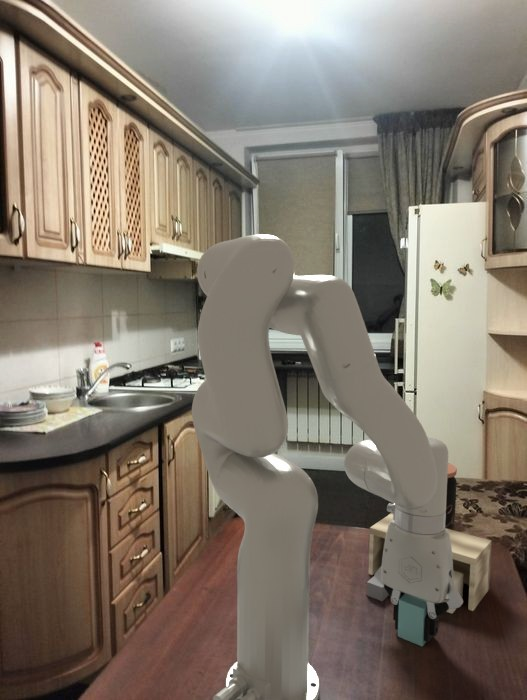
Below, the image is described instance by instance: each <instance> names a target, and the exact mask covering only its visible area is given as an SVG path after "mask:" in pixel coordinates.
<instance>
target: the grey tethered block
mask: <svg viewBox="0 0 527 700" xmlns="http://www.w3.org/2000/svg"><path fill="white" fill-rule="evenodd" d="M366 596H367V597H370V598H373V599H374V600H378V601H380V602H383V601H384V600H386V598H387V597H389V594H388V593H387V591H386V590H385V588H384V585H382V584H381V583H380V582H379V581H378V580H377V579H376V578H375V575H374V576H372V577H371V578H370V579H369V580H368V581H366Z"/></svg>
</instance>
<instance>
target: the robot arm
mask: <svg viewBox="0 0 527 700" xmlns="http://www.w3.org/2000/svg"><path fill="white" fill-rule="evenodd" d="M295 272H296V262H295V257H294V254H293V251H292V250H291V247H290V246H289V244H287V242H286V241H284V240H283V239H282V238H279V237H278V236H275V235H272V234H262V233H261V234H260V233H258V234H252V235H245V236H241V237H238V238H234V239H230V240H229V239H228V240H225V241H224V240H223V241H221V242H217V243H216V244H214V245H211V246H210V247H209V248H208V249H206V250H205V251H204V252H203V254H202V255H201V257H200V258H199V261H198V264H197V269H196V275H197V281H198V284H199V287H200V288H201V291H202V292H203V293H204V294H205V296H206V299H205V302H204V304H203V307H202V310H201V312H200V315H199V316H200V317H199V322H198V327H197V344H198V351H199V355H200V361H201V364H202V368H203V373H204V376H205V377H204V378H205V380H204V381H203V382H202V383H201V384H200V385H199V386H198V388H197V390H196V391H195V394H194V396H193V401H192V404H191V405H192V406H191V419H192V424H193V428H194V431H195V435H196V438H197V441H198V444H199V448H200V451H201V454H202V457H203V460H204V464H205V468H206V470H207V473H208V476H209V479H210V482H211V484H212V488H213V490H214V491H215V493H216V495H217V496H218V497H219V499H220V500H221V501H222V502H223V503H224V504H225V505H226V506H228V507H229V508H230V509H231V510H232V511H233V512H235V514H237V515H238V516H239V517H240V518H241V519H242V520H243V523H244V533H243V537H242V540H241V542H240V544H239V549H238V554H237V563H236V564H237V565H236V566H237V569H236V574H237V576H236V581H237V585H236V586H237V588H236V589H237V596H236V597H237V608H236V609H237V610H236V611H237V613H236V614H237V618H236V619H237V621H236V622H237V623H236V627H237V630H236V631H237V634H236V636H237V637H236V642H237V643H236V645H237V646H236V648H237V649H236V652H237V653H236V654H237V655H236V660H237V661H236V662H235V663H233V665H231V667H230V668H229V670H228V671H227V674H226V678H225V687H223V688H222V689H221V690H220V691H218V692H217V693H215V694H214V696H213V697H212V700H319V696H320V679H319V676H318V674H317V671H316V670H315V668H314V667H313V666H312V665H310V663H309V638H310V637H309V635H310V634H309V629H310V628H309V627H310V624H309V623H310V566H311V565H310V564H311V546H312V539H313V533H314V527H315V525H316V524H315V523H316V519H317V514H318V509H319V495H318V492H317V488H316V486H315V483H314V482H313V479H312V478H311V477H310V476H309V475H308V473H307V472H306V471H305V470H304V469H303V468H301V467H300V466H298V465H297V464H296V463H294V462H292V461H291V460H288V459H286V458H285V457H284V456H282V455H279V454H276V452H278V451H279V450H280V449H281V448H282V447H283V445H284V444H285V442H286V440H287V436H288V433H289V432H288V431H289V418H288V413H287V410H286V405H285V402H284V399H283V395H282V391H281V388H280V385H279V380H278V377H277V373H276V368H275V366H274V362H273V357H272V352H271V347H270V340H269V336H270V334H269V333H270V329H272V330H275V331H277V332H280V333H283V334H287V335H288V334H289V335H292V336H300V337H301V339H302V342H303V344H304V347H305V350H306V352H307V355H308V357H309V360H310V362H311V365H312V368H313V370H314V371H313V372H314V373H315V376H316V378H317V381H318V383H319V387H320V389H321V392H322V394H323V396H324V397H325V399H326V400H327V401H328V402H329V403H330V404H331V405H332V406H333V407H334V408H335V409H336V410H338V411H339V412H340V413H341V414H342V415H343V416H344V417H345V418H347V419H348V420H349V421H351V422H352V423H353V424H355V425H356V426H357V427H358V428H359V429H360V430H361V431H362V432H363V433H364V434H365V435H366V436H367V437H368V438H369V439H364V440H361V441H359V442H356V443H355V444H354V445H352V446H351V447H350V448H349V449H348V450H347V452H346V455H345V457H344V462H343V468H344V471H345V474H346V475H347V477H348V480H350V481H351V482H352V483H353V484H354V485H356V486H357V487H359V488H361V489H362V490H365V491H367V492H369V493H371V494H372V495H375V496H377V497H381V498H382V499H384V500H386V501H388V502H389V503H388V504H387V506H386V511H387V512H388V513H390V514H391V513H392V514H393V520H392V521H391V522H389V525H388V529H387V533H386V538H385V543H384V549H383V557H382V566H381V567H380V568H379V569H378V570H377V572H376V573H375V574H374V576H375V578H376V579H377V580H378V581H379V582H380V583H381V584H382V585H384V588H385V590H386V591H387V593H388V594H389V595H388V597H390V602H391V604H393V612H392V613H393V615H392V616H393V617H392V620H393V621H394V622H395V623H394V629H395V630H396V631H398V611H399V599H400V598H401V597H402V596H403V595H404V594H405V593H406V594H409V595H412V596H414V597H417V598H420V599H423V600H426V603H427V610H428V613H427V615H426V616H425V623H424V641H425V642H426V643H430V641H431V640H432V639H433V637H436V636H437V635H438V632H439V627H440V626H439V622H440V620H439V619H440V615H442V614H444V613H447V612H446V611H447V610H451V609H455V608H456V609H458V608H460V607H461V606H462V605H463V604H464V599H463V596H462V597H461V596H460V594H459V592H458V590H457V588H456V586H455V584H454V582H453V556H452V547H451V540H450V535H449V531H448V530H447V529H445V519H446V497H447V474H448V463H449V449H448V446H447V445H446V443H444V442H443V441H441V440H440V439H437V438H433V437H429V436H427V433H426V431H425V429H424V427H423V425H422V423H421V422H420V420H419V419H418V417H417V416H416V414H415V413H414V412H413V411H412V409H411V407H409V405H408V404H407V403H406V402H405V400H404V399H403V398H402V396H401V395H400V394H399V393H398V391H397V390H396V389H395V388H394V386H393V385H391V383H390V382H389V381H388V380H387V379H386V378H385V376H384V375H383V373H382V371H381V368H380V366H379V362H378V359H377V356H376V353H375V351H374V348H373V344H372V342H371V339H370V336H369V334H368V329H367V327H366V323H365V321H364V319H363V315H362V312H361V309H360V306H359V304H358V301H357V298H356V296H355V292H354V291H353V288H352V287H351V286H350V285H349V283H348V282H347V281H345V280H344V279H342V278H340V277H337V276H335V275H327V274H313V275H311V274H310V275H295ZM447 594H448V596H449V599H445V598H446V595H447Z"/></svg>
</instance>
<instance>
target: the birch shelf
mask: <svg viewBox="0 0 527 700" xmlns="http://www.w3.org/2000/svg"><path fill="white" fill-rule="evenodd" d="M392 520H393V514H392V513H391V512H390V513H389V514H388V515H387V516H385V517H384V518H382V519H381V520H379V521H378V522H376V523H374V524H373V525H372V526H370V527H369V545H368V547H369V550H368V575H370V576H373V575H375V573H376V572H377V570H378V569H379V568H380V567H381V566H382V557H383V549H384V543H385V538H386V533H387V529H388V525H389V522H391V521H392ZM445 529H447V528H445ZM447 530H448V531H449V535H450V540H451V547H452V556H453V571H457V572H460V573H463V574H464V575H463V585H467V586H468V587H469V588H468V603H467V604H468V605H467V606H468V610H469V611H472V612H474V611H475V610H476V608H477V606H478V605H479V604H480V602H481V601H482V599H483V598H484V597H485V596H486V594H487V593H489V591H490V585H491V584H490V581H491V562H492V561H491V559H492V540H491V539H487V538H484V537H479V536H476V535H473V534H470V533H464V532H462V531H457V530H455V529H454V530H451V529H447Z"/></svg>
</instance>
